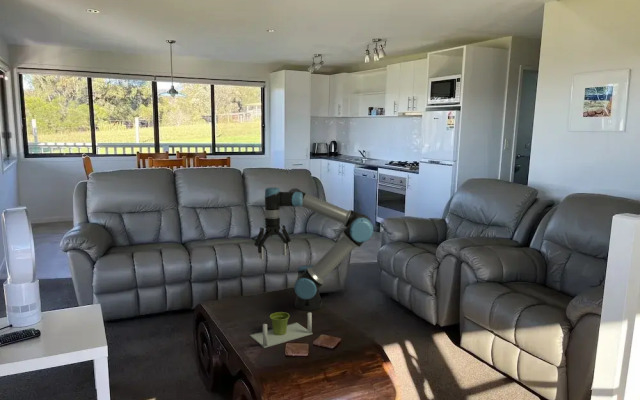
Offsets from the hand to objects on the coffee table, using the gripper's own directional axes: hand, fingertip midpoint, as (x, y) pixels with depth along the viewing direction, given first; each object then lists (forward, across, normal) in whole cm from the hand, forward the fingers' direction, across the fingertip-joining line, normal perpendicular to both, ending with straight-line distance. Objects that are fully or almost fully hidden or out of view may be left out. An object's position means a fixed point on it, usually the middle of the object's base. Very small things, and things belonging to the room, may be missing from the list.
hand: (273, 257), depth 240 cm
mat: (+32, +9, +24) cm, 41 cm away
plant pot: (+31, +9, +23) cm, 40 cm away
